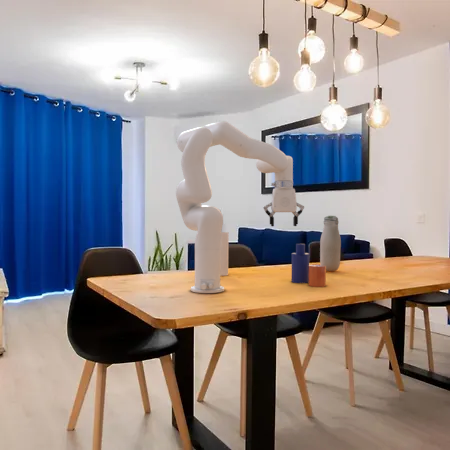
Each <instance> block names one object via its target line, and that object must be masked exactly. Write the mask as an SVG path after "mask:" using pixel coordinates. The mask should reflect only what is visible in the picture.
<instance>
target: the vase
mask: <svg viewBox="0 0 450 450" xmlns="http://www.w3.org/2000/svg"><path fill="white" fill-rule="evenodd" d="M228 275H229V232H228V231H221V239H220V277H221V276H222V277H223V276H228Z"/></svg>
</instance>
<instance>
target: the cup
mask: <svg viewBox="0 0 450 450" xmlns="http://www.w3.org/2000/svg"><path fill="white" fill-rule="evenodd" d="M326 285H327V271H326V266H325V265H320V264H309V266H308V283H307V286H309V287H315V288H323V287H326Z"/></svg>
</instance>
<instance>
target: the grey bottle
mask: <svg viewBox="0 0 450 450" xmlns="http://www.w3.org/2000/svg"><path fill="white" fill-rule="evenodd" d="M341 239H342V238H341V235H340V230H339V218H338V216H336V215H327V216H325V217H323V229H322V232H321V235H320V239H319V240H320V241H319V242H320V243H319V245H320V248H319V251H320V252H319V257H320V258H319V260H320V261H319V265H325V266H326V272H336V271H338V270H339V268H340V265H341V247H342V240H341Z"/></svg>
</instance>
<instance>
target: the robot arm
mask: <svg viewBox="0 0 450 450" xmlns="http://www.w3.org/2000/svg"><path fill="white" fill-rule="evenodd" d="M176 140H177V141H176V145H177V148H178V150H179V151H180V152H181V153H182V155H181V160H180V163H181V164H180V165H181V170H182V171H181V172H182V175H183V179H182V180H181V181H179V183H178V184H177V186H176V189H175V197H176V201H177V204H178V205H177V206H178V208H179V212H180V214H181V218H182V221H183V223H184V225H185V227H186V228H188V229H189V230H191V231H196V235H195V238H194V285H193V286H192V285H191V287H190V292H193V293H196V294H218V293H222V292H224V291H225V287H224V286H222V285H221V276H220V239H221V232H222V229H223V224H224V216H223V213H222V211H221V210H220V209H219V208H218V207H216V206H213V205H202V204H204V203H207V202H209V201H210V200H211V199H212V195H213V190H212V186H211V185H212V184H211V182H210V179H209V176H208V171H207V167H206V156H207V153H208V151H209V149H210V148H212V147H214V146H219V145H220V146H222V147H224V148H225V149H227V150H228V151H230V152H231V153H233V154H235V155H236V156H237V157H240V158H244V159H249V160H256V162H255V166H256V169H257V171H259V172H260V173H263V174H272V173H273V174H274V182H271V183H270V186H271V187H274V188H273V189H272V194H271V202H268V203H267V204H266V205H264V206H262V208H263V210H264V213H265V214H266V215H267V216H268V217H269V225H270V227H275V217H274V215H275V214H276V213H292V215H293V219H292V221H293V224H292V225H293V227H297V226H298V223H299V216H300V215H301V214H302V213H303V211H304V209H305V205H303V204H300V203H298V202H297V194H296V189H295V188H294V187H293V186H294V180H293V179H294V173H293V172H294V170H293V168H294V166H293V165H294V163H293V162H294V160H293V157H292V156H290V155H286V154H285V153H284V151H282V150H281V149H279V148H278V147H276V146H274V145H273V144H270V143H267V142H264V141H262V140H259V139H256V138H252V137H251V136H249V135H248V134H246V133H244V132H243V131H241V129H239V128H237V127H236V126H235V125H233V124H232V123H229V121H225V120H220V121H216V122H213V123H209V124H206V125H203V126H199V127H195V128H192V129H189V130H185V131H183V132H181V133H180V134H179V135H178V137H177V139H176ZM297 207H298V208H299V210H298V211H297ZM269 208H271V211H269Z"/></svg>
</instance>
